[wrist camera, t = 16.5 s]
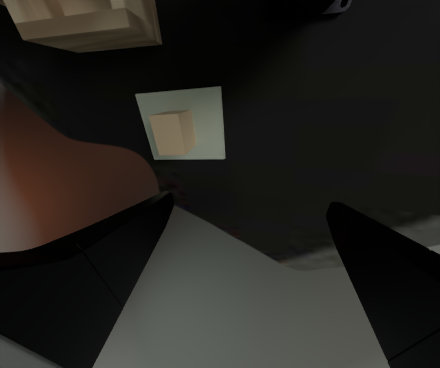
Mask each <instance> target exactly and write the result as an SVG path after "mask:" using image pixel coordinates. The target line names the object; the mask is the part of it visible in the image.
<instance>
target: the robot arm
mask: <svg viewBox="0 0 440 368" xmlns="http://www.w3.org/2000/svg"><path fill="white" fill-rule="evenodd" d="M341 1H345V6H344V7H343V8H342V7H341V6H340V3H341ZM351 2H352V0H265V3H264V19H265V21H267V22H273V21H282V20H291V19H300V18H309V17H318V16H327V15H336V14H341V13H343V12H344V11H346V10H347V9H348V7H349V6H350V4H351ZM268 10H272V11H273V14H272V15H271V16H268V15H267V12H268ZM173 207H174V200H173V196H172V193H171V192H168V191H164V192H162V193H160V194H158V195H155V196H153V197H151V198H149V199H147V200H145V201H143V202H140V203H138V204H136V205H134V206H132V207H130V208H127V209H125V210H123V211H121V212H119V213H117V214H114V215H112V216H110V217H108V218H106V219H104V220H101V221H99V222H97V223H95V224H92V225H90V226H88V227H86V228H83V229H81V230H78V231H76V232H74V233H71V234H69V235H66V236H64V237H61V238H59V239H56V240H54V241H52V242H49V243H47V244H44V245H42V246H39V247H36V248H32V249H29V250H24V251H17V252H3V253H0V368H92V367H93V365H94V363H95V361H96V359H97V358H98V356H99V353H100V352H101V350H102V348H103V346H104V344H105V342H106V340H107V338H108V336H109V335H110V332H111V331H112V329H113V327H114V325H115V323H116V321H117V319H118V317H119V315H120V314H121V311H122V310H123V307H124V306H125V304H126V302H127V300H128V298H129V296H130V294H131V292H132V290H133V288H134V287H135V285H136V283H137V281H138V279H139V277H140V275H141V273H142V271H143V269H144V267H145V265H146V264H147V262H148V260H149V258H150V256H151V254H152V252H153V250H154V248H155V246H156V244H157V242H158V241H159V238H160V237H161V235H162V233H163V231H164V229H165V227H166V225H167V222H168V220H169V217H170V214H171V212H172V209H173ZM326 219H327V222H328V225H329V228H330V232H331V235H332V238H333V241H334V244H335V246H336V249H337V251H338V253H339V255H340V257H341V260H342V262H343V264H344V266H345V268H346V271H347V273H348V275H349V277H350V280H351V282H352V284H353V286H354V288H355V291H356V293H357V295H358V297H359V299H360V302H361V304H362V306H363V308H364V311H365V313H366V315H367V317H368V319H369V322H370V324H371V326H372V328H373V330H374V333H375V335H376V337H377V339H378V341H379V344H380V346H381V348H382V350H383V353H384V355H385V356H386V359H387V360H388V364H389V366H390V368H440V254H438V253H436V252H434V251H432V250H429V249H428V248H426V247H424V246H423V245H421V244H419V243H417V242H415V241H413V240H411V239H409V238H407V237H405V236H404V235H402V234H400V233H398V232H396V231H394V230H392V229H390V228H388V227H387V226H385V225H383V224H381V223H379V222H377V221H375V220H373V219H371V218H369V217H368V216H366V215H364V214H362V213H360V212H358V211H356V210H354V209H352V208H350V207H349V206H347V205H345V204H343V203H340V202H332V203H331V204H330V206H329V208H328V211H327V214H326Z"/></svg>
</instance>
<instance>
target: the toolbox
mask: <svg viewBox="0 0 440 368" xmlns="http://www.w3.org/2000/svg"><path fill="white" fill-rule="evenodd" d="M0 4H1V5H4V6H6V7H7V9H8V11H9V13H10V15H11V17H12V19H13V21H14V23H15V25H16V27H17V29H18V31H19V33H20V35H21V37H22V39H23V40H25V41H30V42H34V43H38V44H43V45H47V46H51V47H56V48H60V49H64V50H68V51H73V52H77V53H82V52H93V51H103V50H113V49H123V48H133V47H143V46H154V45H162V40H161V34H160V28H159V22H158V16H157V10H156V4H155V0H0Z"/></svg>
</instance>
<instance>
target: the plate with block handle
mask: <svg viewBox="0 0 440 368" xmlns="http://www.w3.org/2000/svg"><path fill="white" fill-rule="evenodd" d="M135 96H136V99H137V103H138V106H139V109H140V113H141V116H142V120H143V123H144V126H145V130H146V133H147V137H148V140H149V143H150V147H151V150H152V154H153V157H154V160H172V159H225V144H224V126H223V109H222V91H221V86H219V87H208V88H197V89H186V90H175V91H164V92H153V93H142V94H135Z"/></svg>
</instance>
